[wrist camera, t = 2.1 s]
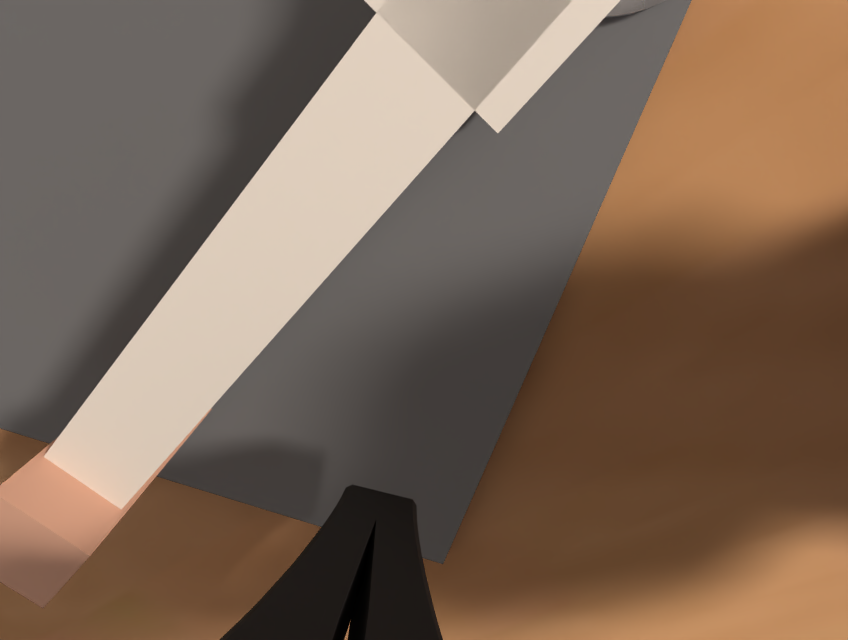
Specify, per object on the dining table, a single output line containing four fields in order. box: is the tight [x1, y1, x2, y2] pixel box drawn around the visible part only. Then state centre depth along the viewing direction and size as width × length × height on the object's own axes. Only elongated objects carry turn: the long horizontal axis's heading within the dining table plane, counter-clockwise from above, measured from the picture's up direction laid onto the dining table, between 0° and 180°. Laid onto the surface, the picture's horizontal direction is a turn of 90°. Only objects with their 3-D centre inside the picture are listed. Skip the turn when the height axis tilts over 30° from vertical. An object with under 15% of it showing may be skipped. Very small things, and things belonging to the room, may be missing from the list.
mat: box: [0, 0, 691, 564], centre depth 11 cm, size 19×21×1 cm
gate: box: [0, 0, 620, 608], centre depth 9 cm, size 13×2×4 cm, turn 138°
